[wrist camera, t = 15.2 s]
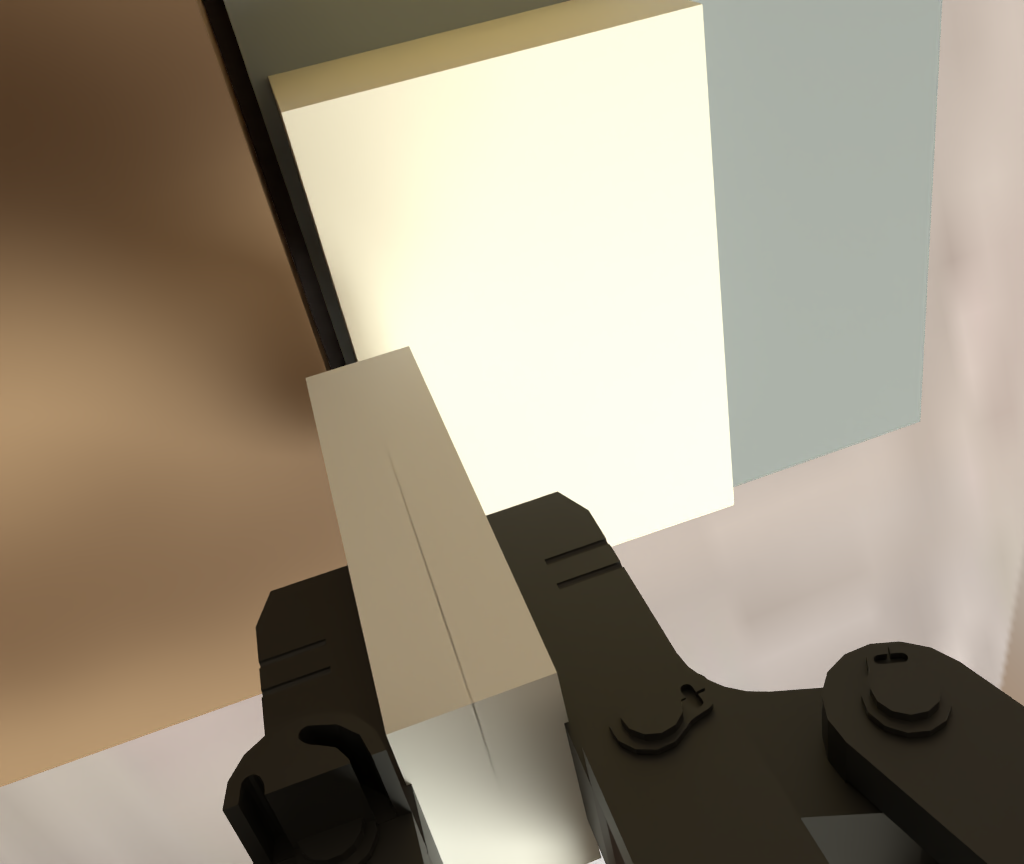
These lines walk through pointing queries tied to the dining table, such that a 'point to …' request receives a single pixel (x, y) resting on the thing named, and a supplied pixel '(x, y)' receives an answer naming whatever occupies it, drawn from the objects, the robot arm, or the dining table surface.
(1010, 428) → the dining table surface
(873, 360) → the slate mat
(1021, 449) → the dining table surface
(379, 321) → the ivory tile
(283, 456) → the walnut deck
